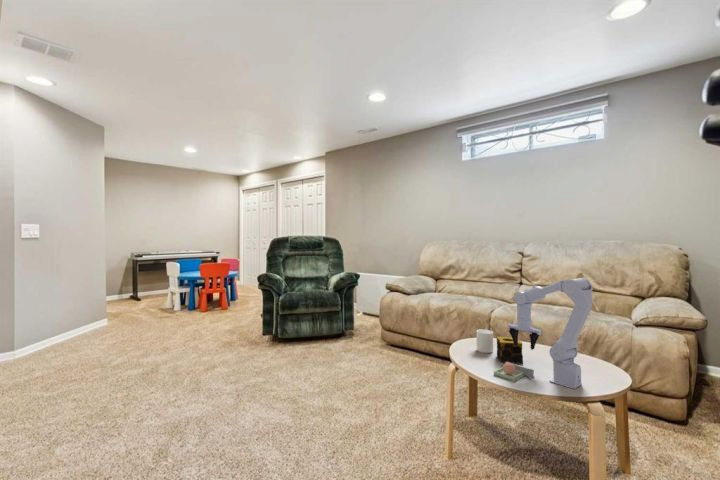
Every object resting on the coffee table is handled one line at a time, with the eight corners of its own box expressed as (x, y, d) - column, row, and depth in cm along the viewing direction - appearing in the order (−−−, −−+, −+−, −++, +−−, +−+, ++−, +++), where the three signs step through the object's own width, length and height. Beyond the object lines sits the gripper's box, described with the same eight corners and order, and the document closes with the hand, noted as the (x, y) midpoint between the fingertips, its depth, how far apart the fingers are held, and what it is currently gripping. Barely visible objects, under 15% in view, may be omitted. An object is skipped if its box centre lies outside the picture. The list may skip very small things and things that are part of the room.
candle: (523, 364, 160) (523, 343, 160) (500, 363, 162) (500, 342, 162) (517, 357, 170) (517, 337, 170) (496, 355, 172) (496, 336, 172)
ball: (517, 374, 147) (517, 363, 147) (511, 378, 144) (511, 366, 144) (506, 370, 151) (506, 359, 151) (500, 373, 148) (500, 362, 148)
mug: (485, 345, 188) (485, 327, 188) (499, 349, 181) (499, 330, 181) (473, 350, 180) (473, 331, 180) (488, 354, 174) (488, 334, 173)
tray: (524, 375, 147) (524, 372, 147) (514, 381, 141) (514, 377, 141) (504, 369, 154) (504, 366, 154) (493, 374, 148) (493, 371, 148)
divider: (534, 377, 145) (534, 369, 145) (531, 378, 144) (531, 370, 144) (507, 368, 154) (507, 361, 154) (504, 370, 153) (504, 362, 153)
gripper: (544, 319, 153) (544, 349, 153) (512, 313, 164) (512, 341, 164) (537, 321, 149) (537, 352, 149) (505, 315, 160) (505, 344, 160)
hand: (524, 347), depth 156 cm, fingers open, 7 cm apart
